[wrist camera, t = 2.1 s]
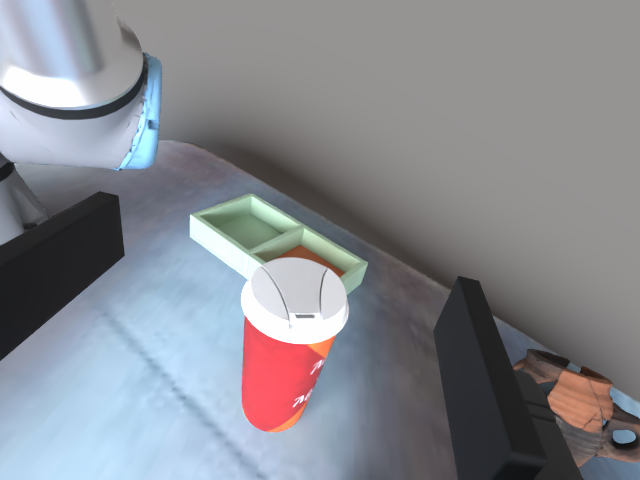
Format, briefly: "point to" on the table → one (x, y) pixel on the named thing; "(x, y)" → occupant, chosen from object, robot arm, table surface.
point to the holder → (268, 239)
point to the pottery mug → (583, 408)
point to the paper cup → (287, 337)
